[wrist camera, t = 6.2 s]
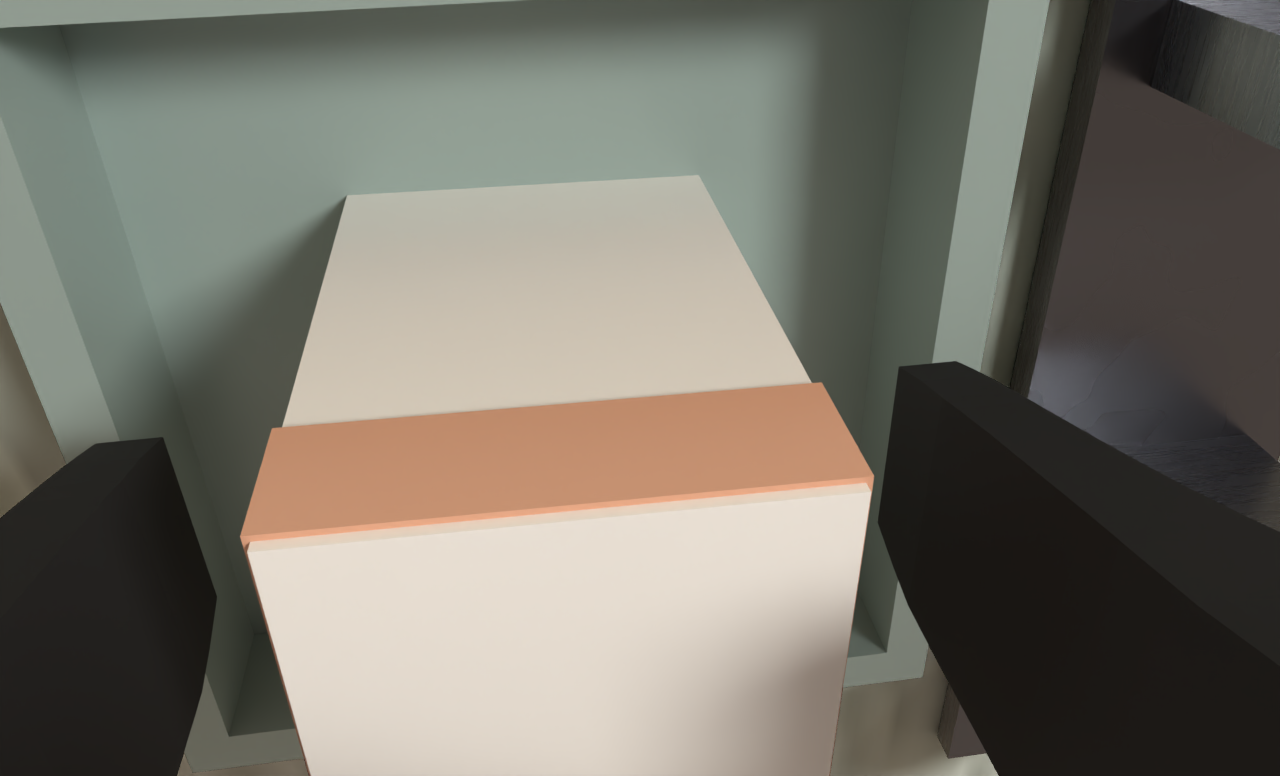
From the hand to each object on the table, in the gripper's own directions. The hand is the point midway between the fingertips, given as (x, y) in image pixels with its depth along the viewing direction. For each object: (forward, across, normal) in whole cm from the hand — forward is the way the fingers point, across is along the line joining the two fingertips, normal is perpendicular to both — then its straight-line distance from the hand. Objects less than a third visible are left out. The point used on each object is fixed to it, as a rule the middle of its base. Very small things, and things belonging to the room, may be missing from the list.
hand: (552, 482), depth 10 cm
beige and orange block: (+3, 0, 0) cm, 3 cm away
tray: (+3, 0, 0) cm, 3 cm away
